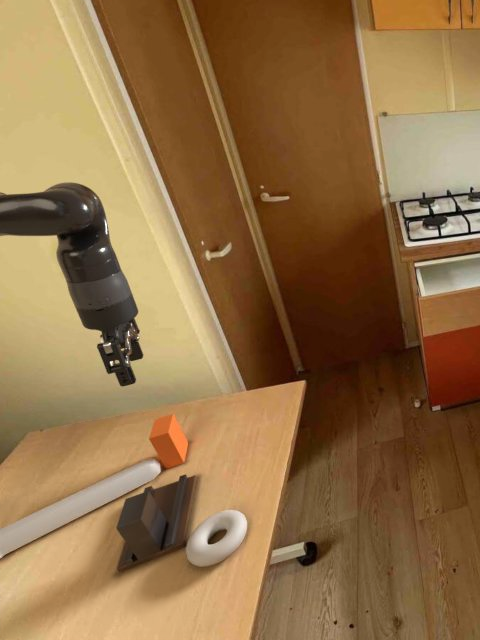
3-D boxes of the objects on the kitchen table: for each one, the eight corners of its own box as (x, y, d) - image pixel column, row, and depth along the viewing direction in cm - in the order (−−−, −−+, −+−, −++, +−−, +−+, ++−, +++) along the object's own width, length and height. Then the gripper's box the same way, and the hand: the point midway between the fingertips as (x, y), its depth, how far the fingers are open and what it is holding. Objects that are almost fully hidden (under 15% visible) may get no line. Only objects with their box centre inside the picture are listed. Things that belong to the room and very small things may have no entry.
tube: (155, 449, 96) (-9, 526, 80) (155, 458, 92) (-17, 541, 76) (164, 469, 97) (4, 549, 81) (165, 478, 93) (-3, 565, 77)
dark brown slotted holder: (119, 573, 77) (91, 537, 72) (141, 497, 90) (119, 462, 85) (184, 546, 81) (163, 511, 76) (197, 478, 94) (179, 443, 89)
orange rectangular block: (165, 469, 96) (148, 438, 91) (170, 448, 101) (154, 418, 96) (184, 462, 97) (168, 432, 93) (188, 443, 102) (173, 413, 97)
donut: (189, 583, 76) (252, 548, 81) (182, 572, 74) (246, 538, 79) (189, 535, 83) (247, 506, 88) (183, 524, 81) (242, 496, 86)
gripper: (85, 285, 78) (115, 357, 85) (61, 321, 67) (98, 400, 73) (137, 277, 82) (162, 346, 88) (123, 309, 71) (152, 386, 77)
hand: (133, 371), depth 81 cm, fingers open, 8 cm apart
